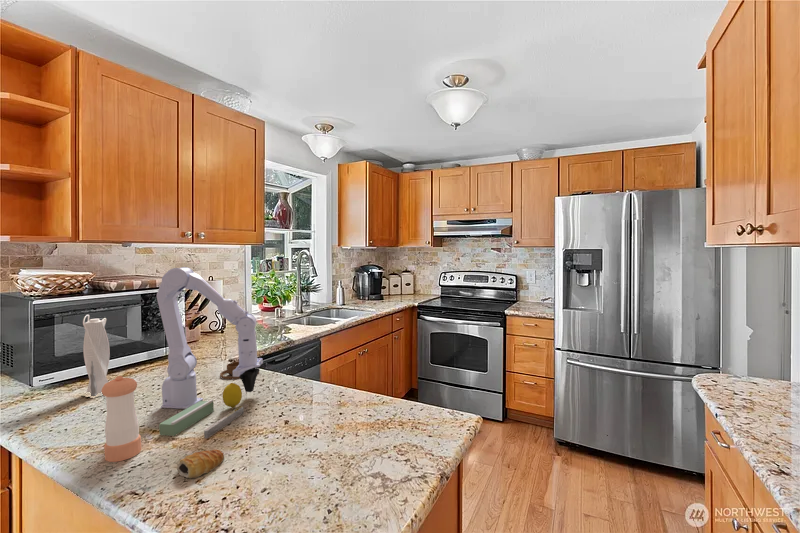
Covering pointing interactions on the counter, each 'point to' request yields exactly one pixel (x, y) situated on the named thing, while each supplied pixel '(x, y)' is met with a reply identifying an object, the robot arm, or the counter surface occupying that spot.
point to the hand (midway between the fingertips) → (249, 391)
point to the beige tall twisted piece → (96, 354)
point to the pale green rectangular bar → (186, 418)
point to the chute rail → (223, 422)
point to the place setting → (230, 371)
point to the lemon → (232, 395)
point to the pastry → (199, 463)
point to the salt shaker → (121, 420)
